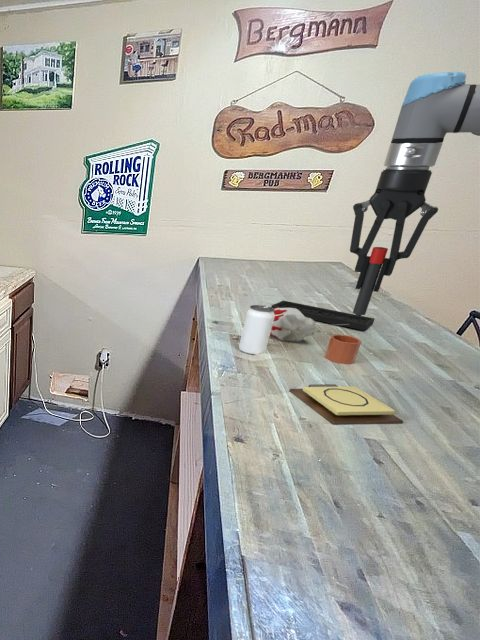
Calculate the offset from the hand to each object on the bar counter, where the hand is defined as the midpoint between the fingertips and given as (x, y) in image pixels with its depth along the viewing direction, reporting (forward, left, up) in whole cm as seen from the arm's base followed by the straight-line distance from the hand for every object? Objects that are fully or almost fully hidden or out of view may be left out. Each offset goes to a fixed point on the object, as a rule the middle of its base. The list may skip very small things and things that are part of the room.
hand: (367, 288), depth 96 cm
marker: (0, 0, -6) cm, 6 cm away
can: (+19, +9, -23) cm, 31 cm away
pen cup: (+12, -10, -22) cm, 27 cm away
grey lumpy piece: (+29, -4, -23) cm, 37 cm away
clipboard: (-11, +6, -22) cm, 25 cm away
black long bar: (+44, -26, -23) cm, 56 cm away
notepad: (-11, +6, -21) cm, 25 cm away
